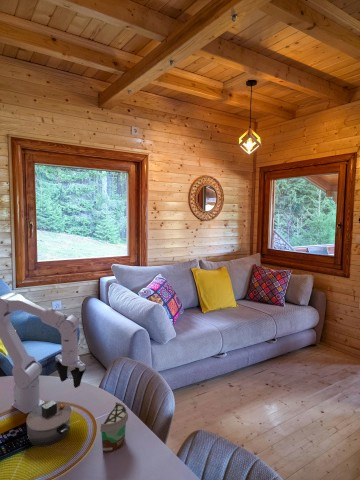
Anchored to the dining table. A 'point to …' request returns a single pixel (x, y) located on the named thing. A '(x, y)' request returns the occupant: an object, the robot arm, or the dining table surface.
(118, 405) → the food container
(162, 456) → the dining table surface
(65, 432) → the cooker pot
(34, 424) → the cooker lid
